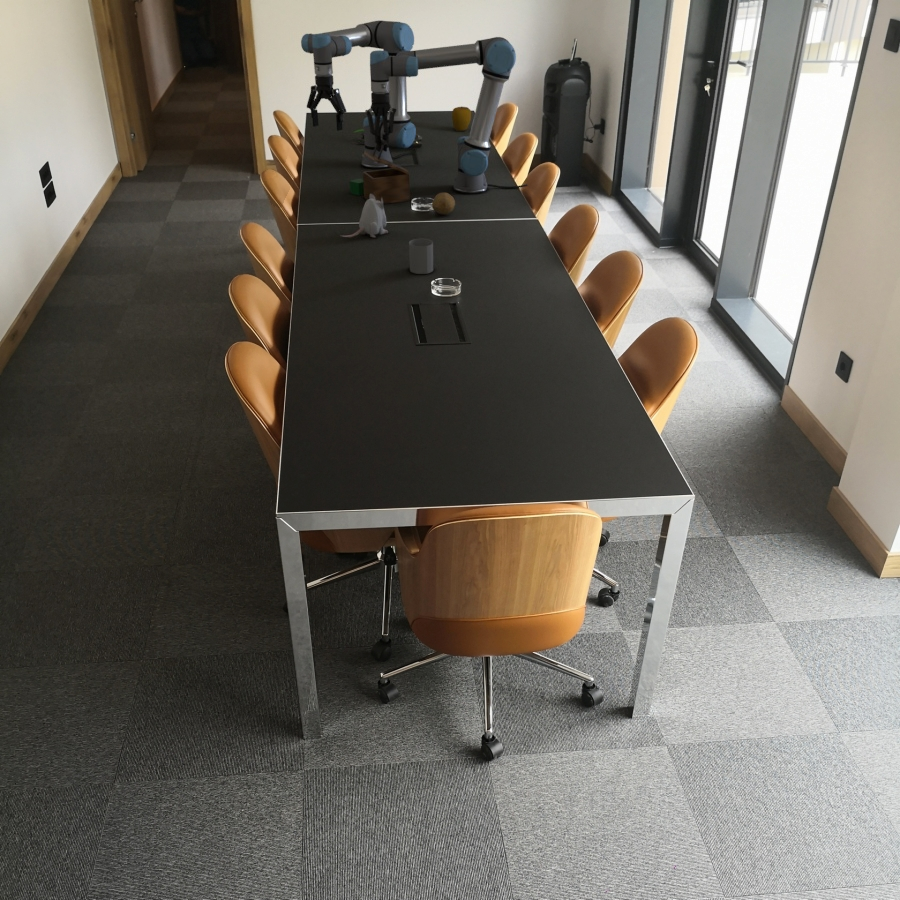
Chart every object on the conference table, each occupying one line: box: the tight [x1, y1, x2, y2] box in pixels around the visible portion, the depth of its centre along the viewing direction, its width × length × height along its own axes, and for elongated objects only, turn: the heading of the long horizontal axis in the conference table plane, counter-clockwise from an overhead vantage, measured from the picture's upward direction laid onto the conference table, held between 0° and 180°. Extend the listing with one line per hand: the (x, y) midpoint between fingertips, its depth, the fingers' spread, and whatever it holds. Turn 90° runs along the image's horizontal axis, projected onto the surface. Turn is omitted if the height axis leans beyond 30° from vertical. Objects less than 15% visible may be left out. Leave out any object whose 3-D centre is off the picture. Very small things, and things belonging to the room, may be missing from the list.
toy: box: [341, 194, 389, 239], centre depth 333 cm, size 9×24×15 cm, turn 137°
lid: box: [363, 138, 410, 175], centre depth 371 cm, size 17×12×9 cm
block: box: [349, 178, 364, 196], centre depth 386 cm, size 6×6×6 cm
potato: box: [431, 192, 456, 216], centre depth 360 cm, size 10×14×8 cm
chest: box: [362, 168, 411, 205], centre depth 377 cm, size 17×12×11 cm
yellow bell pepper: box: [451, 105, 472, 132], centre depth 487 cm, size 11×11×13 cm
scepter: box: [352, 128, 365, 145], centre depth 467 cm, size 6×13×30 cm
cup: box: [408, 237, 434, 275], centre depth 305 cm, size 8×8×10 cm
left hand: (327, 128), depth 372 cm, fingers open, 13 cm apart
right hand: (382, 150), depth 369 cm, fingers closed on lid, 2 cm apart
